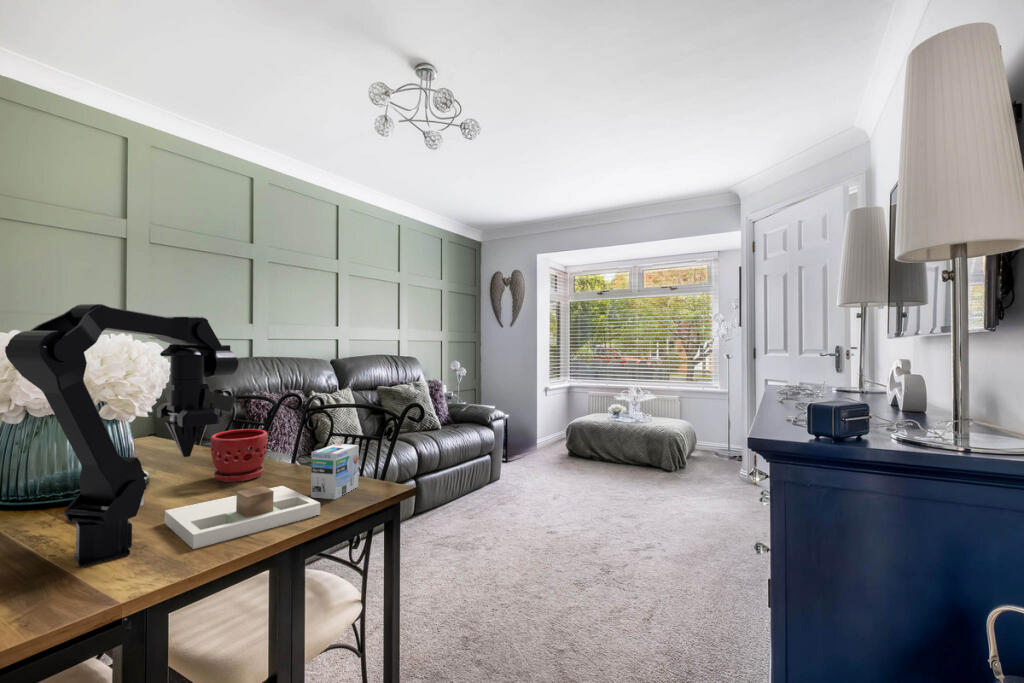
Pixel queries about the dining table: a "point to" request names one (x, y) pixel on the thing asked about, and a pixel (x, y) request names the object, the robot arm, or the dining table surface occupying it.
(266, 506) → the walnut block
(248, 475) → the plant pot
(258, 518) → the tray
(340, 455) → the light bulb box
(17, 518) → the dining table surface
